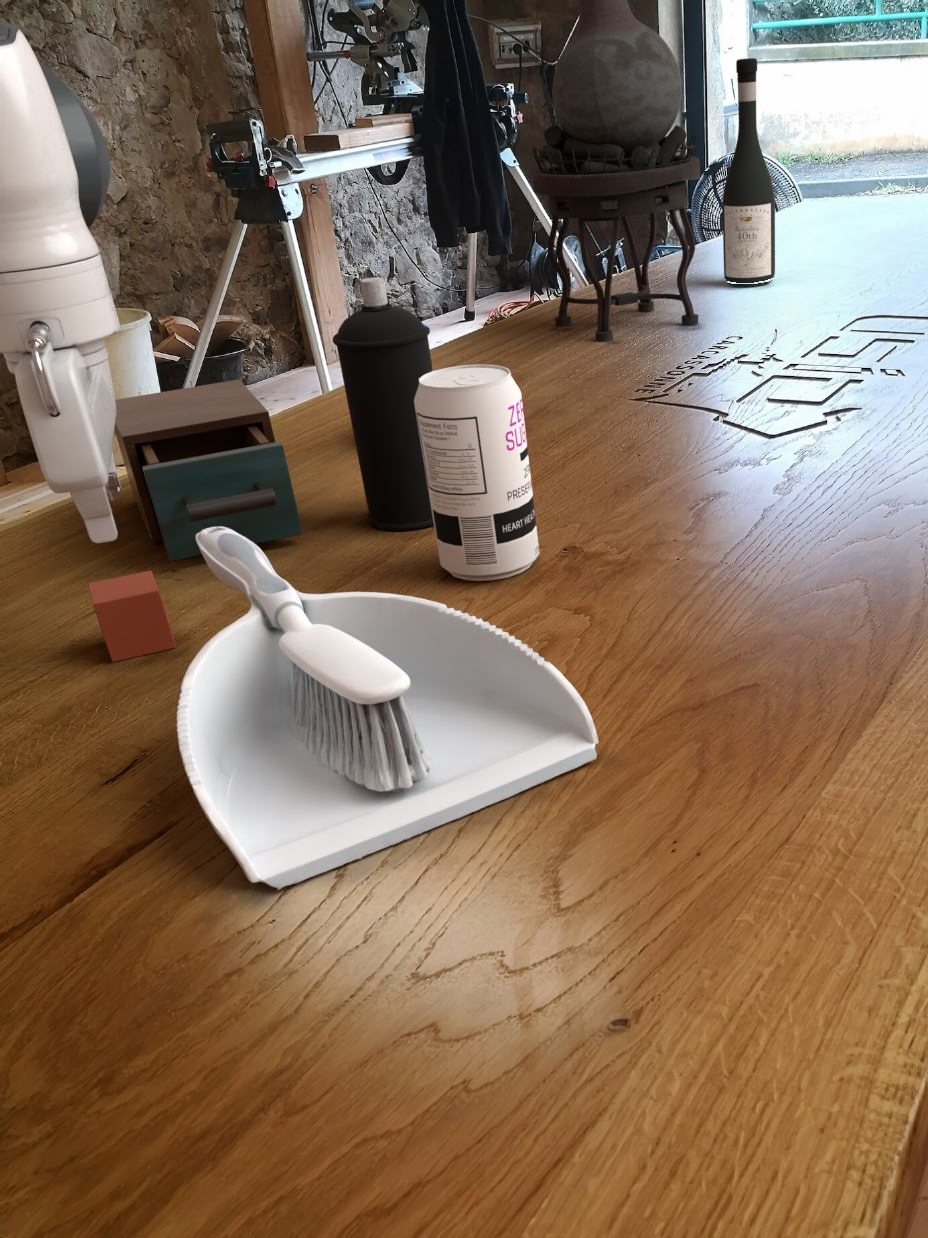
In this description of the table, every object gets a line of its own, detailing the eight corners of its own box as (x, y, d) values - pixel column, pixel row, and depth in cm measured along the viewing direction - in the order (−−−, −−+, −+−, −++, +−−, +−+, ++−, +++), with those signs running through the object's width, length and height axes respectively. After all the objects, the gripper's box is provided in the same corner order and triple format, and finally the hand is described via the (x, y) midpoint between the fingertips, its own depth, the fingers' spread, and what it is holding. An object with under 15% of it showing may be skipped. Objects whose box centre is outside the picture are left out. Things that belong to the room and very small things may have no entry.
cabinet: (292, 516, 116) (268, 411, 111) (153, 544, 112) (121, 436, 107) (262, 476, 127) (239, 379, 122) (135, 500, 123) (105, 401, 118)
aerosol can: (419, 536, 109) (377, 290, 98) (348, 525, 113) (300, 287, 102) (475, 506, 115) (441, 271, 104) (405, 496, 119) (366, 268, 108)
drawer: (315, 550, 106) (294, 457, 101) (177, 579, 102) (150, 485, 98) (272, 493, 119) (253, 410, 115) (150, 517, 116) (125, 432, 111)
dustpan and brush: (254, 904, 65) (207, 745, 59) (79, 692, 87) (33, 563, 82) (616, 754, 75) (604, 608, 70) (376, 600, 98) (352, 480, 93)
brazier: (723, 329, 170) (713, -82, 145) (562, 349, 166) (522, -69, 141) (682, 301, 188) (666, -68, 163) (536, 318, 185) (496, -57, 159)
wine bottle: (772, 287, 193) (771, 57, 176) (721, 288, 194) (715, 61, 177) (776, 277, 199) (776, 55, 182) (727, 278, 201) (722, 58, 184)
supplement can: (431, 558, 105) (400, 372, 96) (524, 540, 107) (502, 357, 98) (453, 591, 98) (422, 395, 90) (552, 571, 100) (531, 378, 92)
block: (112, 662, 91) (92, 603, 89) (106, 640, 95) (87, 583, 92) (176, 648, 93) (159, 589, 90) (168, 626, 96) (151, 569, 94)
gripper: (85, 333, 73) (153, 558, 81) (99, 280, 90) (154, 472, 97) (-29, 347, 72) (51, 575, 80) (6, 291, 88) (70, 485, 96)
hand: (108, 518), depth 89 cm, fingers open, 8 cm apart
